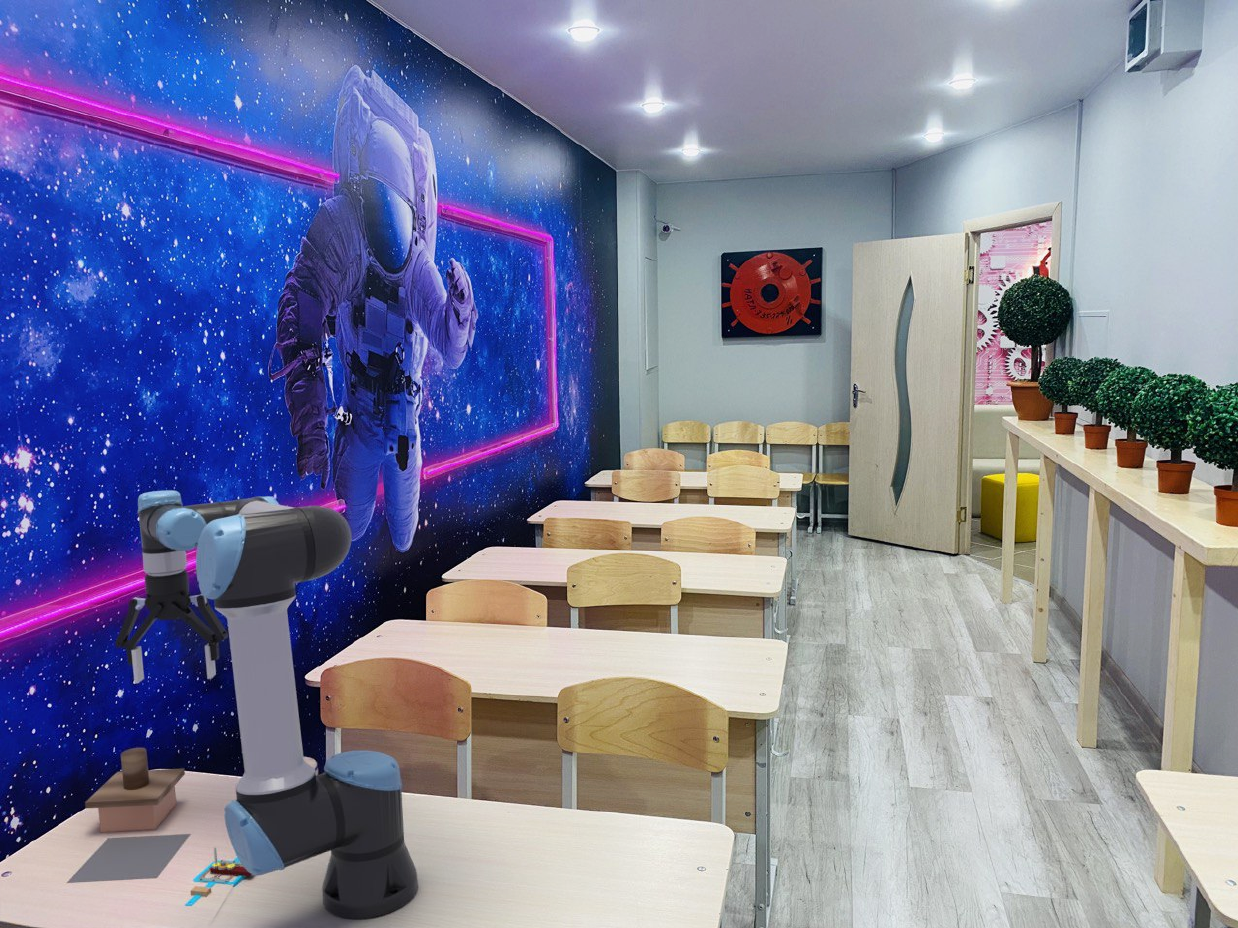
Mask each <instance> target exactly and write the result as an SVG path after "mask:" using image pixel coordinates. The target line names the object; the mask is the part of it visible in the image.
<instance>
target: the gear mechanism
mask: <svg viewBox="0 0 1238 928" xmlns="http://www.w3.org/2000/svg"><path fill="white" fill-rule="evenodd" d="M217 852H218V851H217V847H216V846H214V847H213V856H214V857H213V858H214V861H212V862H211V863H210V864H208V866H207V867H206V868H204V869H203V870H202V871H201V872H200V873H199V874H197V875H196V876H195V877H194V878H193V879H192V881H193V882H195V883H206V885H204V886H198V885H195V886H194V887H193V888H192V889H190V896H192V897H191V898H190V899H189V900H188V901H186V903H184V906H185V907H186V906H189V907H192V906H193V905H194V904H195V903H197V901H199V900H200V899H201V898H202V897H205V898H207V897H208V896H209V895H210V894H211V893H212V888H213V887H214V886H215V884H218V885H231V886H232V888H235V887H237V885H239V883H241V882H242V880H244V879H245V878H246V877H251V876H253V874H251V873H249V872H248V871H247V870H246V869H245V868H244V867H243V865H242V864H241V862H240V861H239V859H238V857H237V856H236V857H235V858H234V859H233V860H225V859H222V860H218V854H217ZM209 872H210V873H211V874H215V875H214V876H211V877H206V875H207V874H208V873H209ZM222 875H228V876H229V877H228V878H225V879H224V878H223V879H222V878H220V877H221V876H222ZM235 876H237V877H236V878H235V879H234V880H232V879H233V878H234V877H235ZM230 880H232V881H230Z"/></svg>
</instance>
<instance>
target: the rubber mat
mask: <svg viewBox="0 0 1238 928" xmlns="http://www.w3.org/2000/svg"><path fill="white" fill-rule="evenodd" d="M190 836H191V833H181V834H166V835H165V834H162V835H145V836H144V835H143V836H127V837H126V836H125V837H124V836H123V837H121V836H120V837H108V838H107V839H106V840H105V841H104V842H103V843H102V844H101V845H100V846H99V847H98V848H97V849H96V850H95V852H94V853H93V854H92V855H91V856H90V857H89V858H88V859H87V860H86V861H85V862H84V863H83V864H82V866H81V867H79V869H77V871H76V872H75V873H74V874H73V875H72V876H71V877H70V878H69V879H68V880H67V882H66V884H72V883H76V884H77V883H90V882H95V883H96V882H109V881H110V882H111V881H128V880H129V881H130V880H131V881H132V880H146V879H149V880H150V879H158V877H159V876H160V875H161V873H163V871H164V870H165V868H166V867H167V866H168V864H169V863H170V862H171V861H172V859H174V857H175V856H176V854H177V852H178V851H179V850H180V849H181V848H182V847H183V845H184V844H185V842H187V840H188V838H189V837H190Z"/></svg>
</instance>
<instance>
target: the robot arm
mask: <svg viewBox="0 0 1238 928" xmlns="http://www.w3.org/2000/svg"><path fill="white" fill-rule="evenodd" d="M137 507H138V508H137V509H138V510H137V515H138V520H139V529H140V538H141V539H140V541H141V550H142V565H143V572H144V573H145V576H144V584H145V585H144V586H145V593H146V598H141V597H140V596H135V597H133V598H131V599H130V600H129V602H128V612H127V614H126V617H125V619H124V622H123V624H122V627H121V629H120V631H119V633H118V636H117V638H116V641H115V643H114V646H115V647H116V648H122V649H125V650H126V659H127V664H128V666H132V670H133V671H132V672H133V682H134V684H139V683H140V682H142V681H143V680H145V674H144V673H145V672H144V664H143V663H144V662H143V651H142V646H141V645H138V644H139V642H140V641H141V640H142V638H143V637H144V635H146V634H147V631H148V630H149V629H150V628H151V626H152V625H153V624H154V623H155V622H156V621H157V620H159V621H160V622H161V621H166V620H171V621H174V620H175V621H176V620H178V619H181V620H182V621H183V622H185V623H187V624H188V626H190V627H191V628H192V629H193V630H194V631H195V632H196V633H197V635H199V636H200V637H201V638H202V639H203V640H204V641H205V642H207V643H206V644H205V645H204V653H205V654H204V655H205V665H206V677H207V680H211V679H213V678H214V677H215V676H216V675H217V673H216V672H217V669H216V661H217V660H218V659H219V658H220V648H219V647H220V646H219V643H221V642H223V641H224V640H225V639H227V638H229V647H230V653H231V654H230V655H231V663H232V664H231V665H232V672H233V680H234V681H233V682H234V690H235V699H236V707H237V715H238V725H239V735H240V742H241V752H242V759H243V768H244V773H243V775H242V776H241V778H240V779H239V780H238V781H237V783H236V784H235V794H236V800H231V801H230V802H229V803H227V804H226V805H225V807H224V822H225V827H226V831H227V834H228V837H229V840H230V843H231V846H232V849H233V851H234V852H235V855H236V858H237V857H238V859H239V861H240V862H241V864H242V865H243V867H244V868H245V869H246V870H247V871H248V872H249V873H251V874H252V876H263V875H267V874H269V873H274V872H276V871H283V870H285V868H288V867H291V866H294V865H296V864H299V863H301V862H304V861H306V860H309V859H312V858H314V857H317V856H320V855H322V854H325V853H327V852H330V856H329V861H328V865H327V868H326V871H325V875H324V879H323V884H322V890H321V891H322V903H323V906H324V908H325V909H326V911H328V912H329V913H330V914H332V915H334V916H336V917H340V918H345V919H350V920H351V919H353V920H356V919H357V920H359V919H361V920H363V919H369V918H375V917H379V916H384V915H386V914H389V913H392V912H394V911H396V910H398V909H400V908H402V907H403V906H405V905H406V904H408V903H409V902H410V901H411V899H413V897H414V896H415V895H416V893H417V891H418V887H419V884H418V883H419V882H418V873H417V868H416V866H415V864H414V862H413V859H412V857H411V854H410V852H409V849H408V847H407V845H406V842H405V835H404V834H405V832H404V831H405V830H404V813H403V812H404V811H403V810H404V808H403V795H402V792H403V791H402V788H403V783H402V779H401V772H400V766H399V763H398V762H397V760H396V759H395V758H393V757H392V756H390V755H388V754H386V753H385V752H384V753H383V752H380V751H379V752H378V751H374V750H349V751H344V752H339V753H337V754H334V755H332V756H330V757H329V758H328V759H327V760H326V761H325V765H324V766H323V770H324V772H322V773H320V774H319V773H318V775H316V773H315V769H314V768H313V767H312V766H311V765H309V764H308V763H306V762H305V761H304V759H303V757H304V750H303V743H302V742H303V741H302V735H301V734H302V733H301V724H300V717H299V706H298V698H297V697H298V696H297V690H296V689H297V688H296V687H297V686H296V679H295V670H294V662H293V661H294V660H293V651H292V643H291V634H290V626H289V624H290V623H289V617H288V608H289V606H290V605H291V604H292V602H293V601H295V599H296V598H297V594H296V584H298V583H302V582H308V581H313V580H317V579H320V578H321V577H325V576H326V575H328V574H330V573H331V572H334V570H336V568H338V567H339V566H340V565H341V564H342V563H343V562H344V560H345V559H346V557H347V556H348V554H349V552H350V548H351V545H352V530H351V527H350V525H349V523H348V521H347V520H346V518H345V517H344V516H343V515H342V514H341V513H340V512H339V511H337V510H336V509H333V508H331V507H326V506H320V505H309V506H299V507H292V506H287V505H282V504H280V503H279V502H278V501H277V499H276V498H275V497H273V496H268V495H267V496H254V497H250V498H241V499H234V500H226V501H217V502H210V503H209V502H208V503H200V504H192V505H184V506H183V502H182V496H181V493H180V492H179V491H177V490H171V489H170V490H156V491H155V490H154V491H149V492H144V493H142V494H140V495H139V496H138V498H137ZM194 549H196V556H195V558H196V560H195V567H196V568H195V569H196V578H197V582H198V588H199V590H200V591H199V592H200V594H198V595H192V594H190V584H189V583H190V582H189V575H188V574H189V573H188V571H187V570H186V568H187V567H188V564H187V562H188V561H187V552H186V551H192V550H194ZM209 600H213V602H214V610H216V611H218V612H219V613H220V614H222V616H224V617H225V618H226V620H227V627H228V628H227V629H228V632H227V630H226V628H225V627H224V625H223V623H222V622H221V620H220V618H218V615H217V614H216V613H215V612H214V610H213V608H212V606H211V605H210V602H209ZM192 603H193V604H194V606H195V607H197V608H198V611H199V612H200V614H201V615H202V617H203V618H204V620H205V622H206V623H207V624H208V625H206V624H205V623H204V621H202V619H200V618H199V617H198V616H197V615H196V613H195V611H194V610H192V609H191V607H190V606H191V604H192ZM144 606H145V607H146V609H147V610H148V611H149V614H148V615H147V616H146V618H145V619H144V621H143V622H142V624H141V625H140V626H139V627H138V629H137V630H136V631H135V632H134V634H133V635H132V636H131V637H130V634H131V632H132V630H133V628H134V626H135V623H136V621H137V618H138V615H139V613H140V611H141V610H142V609H143V608H144ZM228 636H229V637H228ZM129 637H130V639H129ZM137 645H138V646H137Z"/></svg>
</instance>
